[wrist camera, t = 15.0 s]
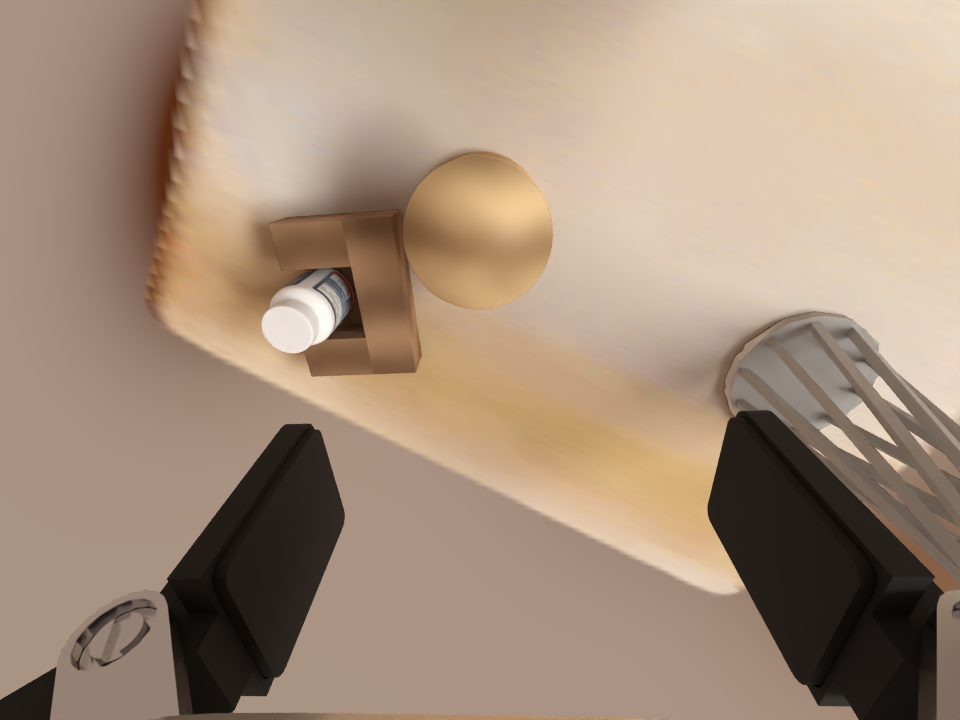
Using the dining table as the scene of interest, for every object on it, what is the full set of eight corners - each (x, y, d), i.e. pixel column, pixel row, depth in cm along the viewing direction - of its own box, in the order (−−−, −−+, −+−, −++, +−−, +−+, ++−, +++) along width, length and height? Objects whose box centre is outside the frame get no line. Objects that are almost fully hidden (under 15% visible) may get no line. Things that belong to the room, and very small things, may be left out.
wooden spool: (416, 156, 35) (391, 162, 27) (541, 147, 34) (553, 150, 26) (431, 276, 39) (414, 312, 31) (541, 270, 38) (552, 305, 30)
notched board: (287, 217, 37) (267, 224, 34) (400, 209, 37) (390, 216, 33) (325, 359, 44) (311, 376, 41) (421, 355, 43) (415, 372, 40)
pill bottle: (299, 311, 41) (251, 352, 34) (300, 259, 39) (249, 290, 31) (353, 323, 42) (318, 367, 34) (358, 272, 39) (322, 306, 31)
